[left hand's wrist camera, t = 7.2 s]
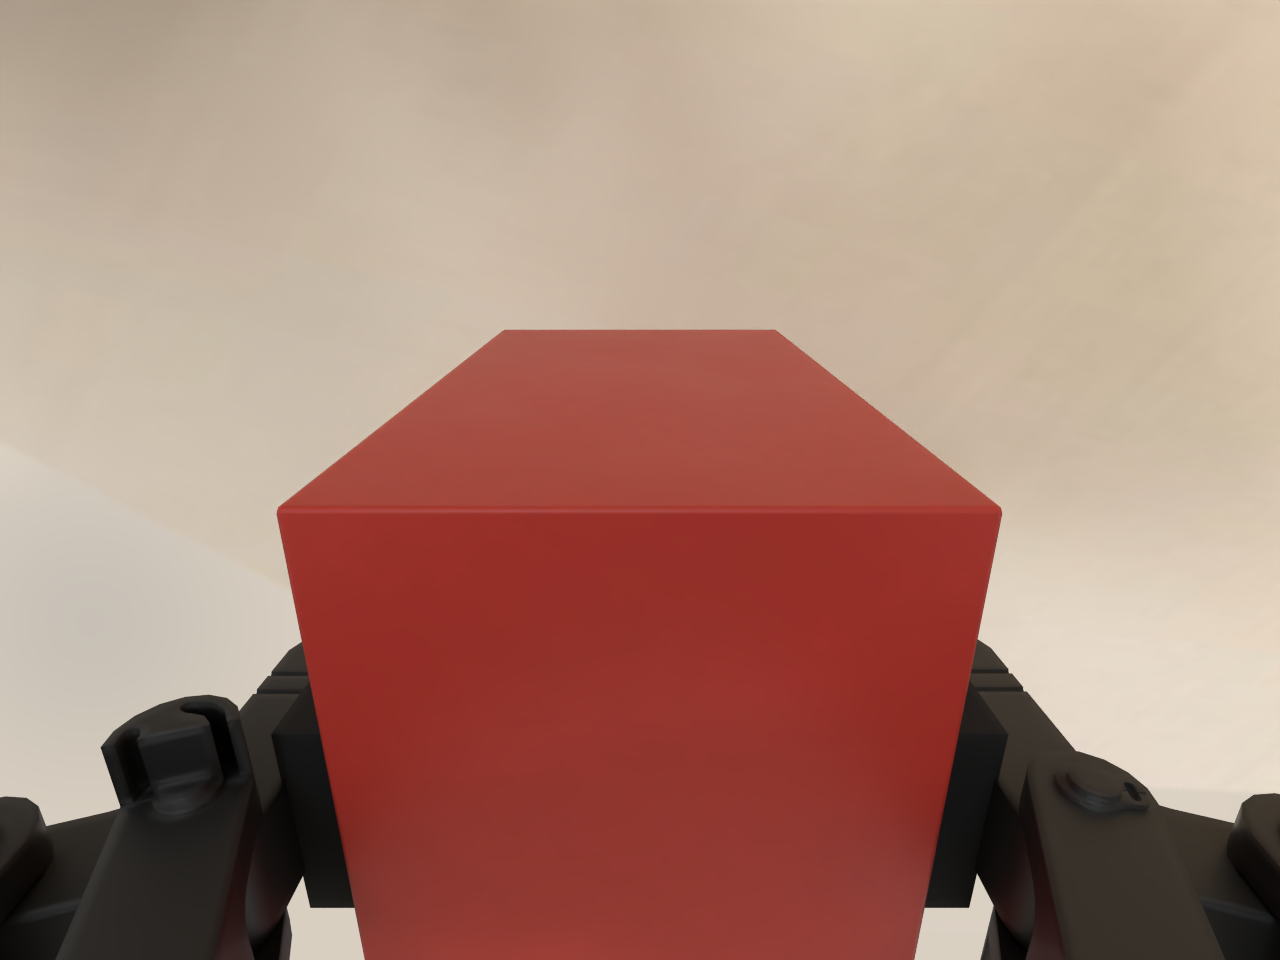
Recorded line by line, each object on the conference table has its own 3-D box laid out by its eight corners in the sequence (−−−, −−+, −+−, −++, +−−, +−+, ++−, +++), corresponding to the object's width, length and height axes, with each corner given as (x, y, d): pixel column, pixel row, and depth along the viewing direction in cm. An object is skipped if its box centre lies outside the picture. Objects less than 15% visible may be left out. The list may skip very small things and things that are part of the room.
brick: (777, 329, 17) (1005, 507, 6) (756, 626, 20) (890, 1089, 9) (502, 329, 17) (272, 507, 6) (522, 626, 20) (387, 1089, 9)
